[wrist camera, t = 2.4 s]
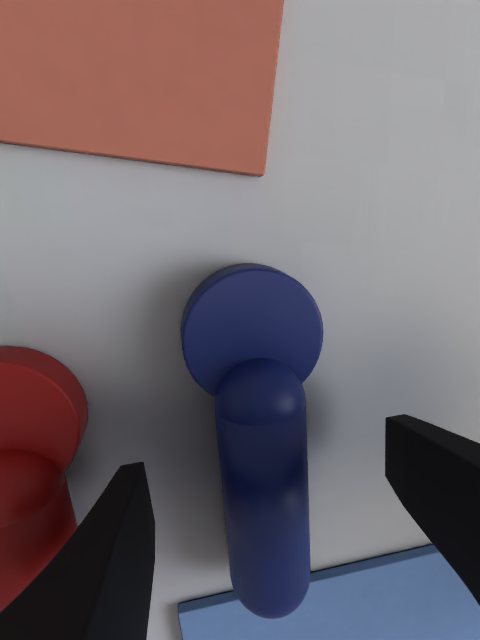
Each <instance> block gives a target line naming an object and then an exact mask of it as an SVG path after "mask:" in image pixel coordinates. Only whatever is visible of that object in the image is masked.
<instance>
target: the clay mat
mask: <svg viewBox="0 0 480 640" xmlns="http://www.w3.org/2000/svg"><path fill="white" fill-rule="evenodd" d="M283 3H284V0H0V143H7V144H15V145H22V146H30V147H38V148H45V149H53V150H61V151H68V152H76V153H83V154H91V155H99V156H106V157H114V158H122V159H129V160H137V161H144V162H152V163H160V164H167V165H175V166H183V167H190V168H198V169H206V170H213V171H221V172H228V173H236V174H244V175H251V176H259V177H260V176H263V175H264V173H265V164H266V155H267V146H268V137H269V128H270V119H271V110H272V101H273V93H274V84H275V75H276V66H277V57H278V48H279V39H280V30H281V21H282V12H283Z"/></svg>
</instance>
